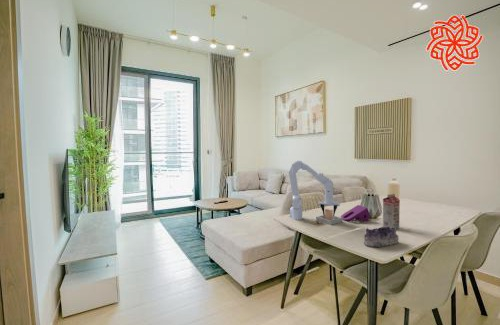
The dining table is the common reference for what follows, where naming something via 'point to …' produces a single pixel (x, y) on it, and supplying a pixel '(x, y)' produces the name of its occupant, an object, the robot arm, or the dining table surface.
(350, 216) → the mounting bracket
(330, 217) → the salmon brown block
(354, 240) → the dining table surface
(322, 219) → the bin
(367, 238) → the geode
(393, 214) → the juice carton
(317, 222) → the stud plate
